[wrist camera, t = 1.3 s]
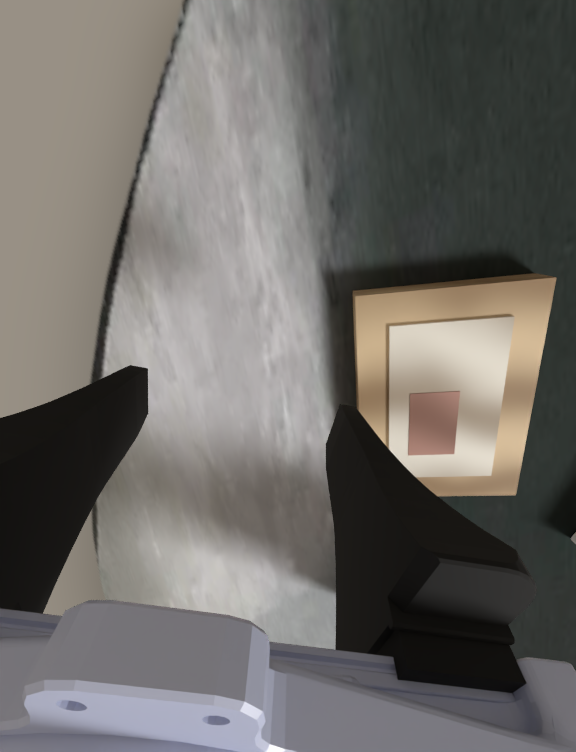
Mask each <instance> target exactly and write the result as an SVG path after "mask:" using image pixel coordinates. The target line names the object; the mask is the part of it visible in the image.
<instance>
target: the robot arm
mask: <svg viewBox="0 0 576 752" xmlns="http://www.w3.org/2000/svg"><path fill="white" fill-rule="evenodd" d="M147 415H148V368H142V367H137V366H131V365H130V366H128V367H125V368H123V369H121V370H119V371H117V372H115V373H113V374H111V375H109V376H107V377H104V378H102V379H100V380H98V381H96V382H94V383H92V384H90V385H88V386H86V387H83V388H82V389H79V390H77V391H74V392H72V393H70V394H67V395H65V396H63V397H60V398H58V399H56V400H53V401H51V402H48V403H45V404H43V405H40V406H37V407H34V408H32V409H28V410H26V411H22V412H19V413H16V414H13V415H10V416H6V417H3V418H0V752H576V671H575V670H574V668H573V666H572V665H571V664H569V663H568V662H562V661H555V660H547V659H539V658H521V659H518V660H516V659H515V657H514V655H513V652H512V650H511V648H510V646H509V645H512V644H514V637H513V635H512V632H511V630H510V628H509V626H508V624H510V623H511V622H512V621H513V620H514V619H515V618H516V617H517V616H519V615H520V614H521V613H522V612H523V611H524V610H525V609H527V608H528V606H529V605H530V604H531V603H532V602H533V600H534V597H535V594H536V592H537V589H536V584H535V582H534V580H533V578H532V577H531V575H530V573H529V571H528V570H527V568H526V566H525V565H524V563H523V561H522V560H521V558H520V556H519V555H518V553H517V551H516V550H515V549H513V548H512V547H510V546H509V545H507V544H505V543H504V542H502V541H501V540H499V539H497V538H496V537H494V536H492V535H491V534H489V533H488V532H486V531H484V530H483V529H481V528H480V527H478V526H477V525H475V524H474V523H472V522H471V521H470V520H468V519H467V518H465V517H464V516H462V515H461V514H460V513H458V512H457V511H456V510H454V509H453V508H452V507H450V506H449V505H448V504H446V503H445V502H444V501H443V500H441V499H440V498H439V497H438V496H436V495H435V494H434V493H433V492H432V491H430V490H429V489H428V488H427V487H426V486H425V485H424V484H422V483H421V482H420V481H419V480H418V479H417V478H416V477H415V476H414V475H413V474H412V473H411V472H410V471H409V470H408V469H407V468H406V467H405V466H404V465H403V464H402V463H401V462H400V461H399V460H398V459H397V458H396V457H395V455H394V454H393V453H392V452H391V451H390V450H389V449H388V448H387V446H386V445H385V444H384V443H383V442H382V440H381V439H380V438H379V437H378V435H377V434H376V433H375V432H374V430H373V429H372V428H371V426H370V425H369V424H368V422H367V421H366V420H365V418H364V417H363V416H362V415H361V413H360V412H359V411H358V409H357V408H356V407H352V406H347V405H341V404H340V406H339V409H338V412H337V414H336V417H335V420H334V423H333V426H332V429H331V432H330V434H329V437H328V440H327V443H326V471H327V479H328V486H329V493H330V500H331V507H332V514H333V521H334V532H335V555H336V650H332V649H324V648H316V647H308V646H300V645H292V644H284V643H276V642H269V640H268V636H267V634H266V633H265V632H264V631H263V630H262V629H260V628H259V627H258V626H256V625H255V624H253V623H252V622H251V621H248V620H245V619H241V618H237V617H233V616H230V615H224V614H216V613H208V612H200V611H193V610H185V609H177V608H169V607H162V606H154V605H146V604H138V603H131V602H123V601H115V600H89V601H86V602H84V603H81V604H79V605H76V606H74V607H72V608H70V609H68V610H66V611H65V612H64V614H63V616H57V615H49V614H43V612H44V609H45V607H46V604H47V602H48V600H49V597H50V595H51V593H52V590H53V588H54V586H55V584H56V582H57V579H58V577H59V575H60V573H61V571H62V569H63V566H64V564H65V562H66V560H67V558H68V556H69V553H70V551H71V549H72V547H73V545H74V543H75V541H76V539H77V537H78V535H79V533H80V531H81V529H82V527H83V525H84V523H85V521H86V519H87V517H88V515H89V513H90V511H91V509H92V507H93V505H94V504H95V502H96V500H97V498H98V496H99V494H100V493H101V491H102V489H103V488H104V486H105V485H106V483H107V481H108V480H109V478H110V477H111V475H112V474H113V472H114V471H115V469H116V468H117V466H118V465H119V463H120V462H121V460H122V459H123V457H124V456H125V454H126V453H127V451H128V450H129V448H130V447H131V445H132V444H133V442H134V441H135V439H136V437H137V436H138V434H139V432H140V430H141V428H142V426H143V423H144V421H145V419H146V417H147Z"/></svg>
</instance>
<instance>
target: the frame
mask: <svg viewBox="0 0 576 752" xmlns="http://www.w3.org/2000/svg"><path fill="white" fill-rule="evenodd" d="M555 283H556V277H552V276H546V275H541V274H536V273H532V274H522V275H512V276H501V277H491V278H480V279H470V280H460V281H449V282H439V283H429V284H418V285H408V286H398V287H387V288H377V289H366V290H356V291H353V318H354V344H355V371H356V398H357V409H358V411H359V412H360V413H361V415H362V416H363V417H364V418H365V420H366V421H367V422H368V424H369V425H370V426H371V428H372V429H373V430H374V432H375V433H376V434H377V435H378V437H379V438H380V439H381V440H382V442H383V443H384V444H385V445H386V446H387V448H388V449H389V450H390V451H391V452H392V453H393V454H394V455H395V457H396V458H397V459H398V460H399V461H400V462H401V463H402V464H403V465H404V466H405V467H406V468H407V469H408V470H409V471H410V472H411V473H412V474H413V475H414V476H415V477H416V478H417V479H418V480H419V481H420V482H421V483H422V484H424V485H425V486H426V487H427V488H428V489H429V490H430V491H432V492H433V493H434V494H435V495H436V496H491V495H516V491H517V486H518V481H519V475H520V470H521V465H522V459H523V454H524V449H525V443H526V438H527V433H528V427H529V422H530V416H531V411H532V406H533V400H534V395H535V390H536V384H537V379H538V374H539V368H540V363H541V358H542V352H543V347H544V342H545V336H546V331H547V326H548V320H549V315H550V310H551V304H552V299H553V293H554V288H555Z"/></svg>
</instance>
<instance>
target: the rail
mask: <svg viewBox="0 0 576 752" xmlns="http://www.w3.org/2000/svg"><path fill="white" fill-rule="evenodd" d="M571 540H572V541H573V542H574V543H575V544H576V532H575V533H574V535H573V536H572V537H571Z"/></svg>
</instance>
